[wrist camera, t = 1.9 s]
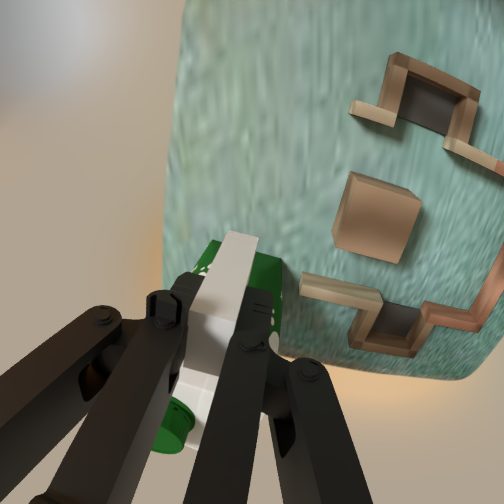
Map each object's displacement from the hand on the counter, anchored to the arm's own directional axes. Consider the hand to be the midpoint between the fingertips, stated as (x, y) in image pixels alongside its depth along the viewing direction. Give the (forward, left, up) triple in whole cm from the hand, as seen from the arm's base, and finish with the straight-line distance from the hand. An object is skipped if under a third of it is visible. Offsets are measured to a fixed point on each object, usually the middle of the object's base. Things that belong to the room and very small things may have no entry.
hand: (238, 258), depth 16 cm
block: (0, +10, -15) cm, 18 cm away
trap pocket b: (+12, +17, -15) cm, 25 cm away
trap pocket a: (-12, +12, -15) cm, 22 cm away
